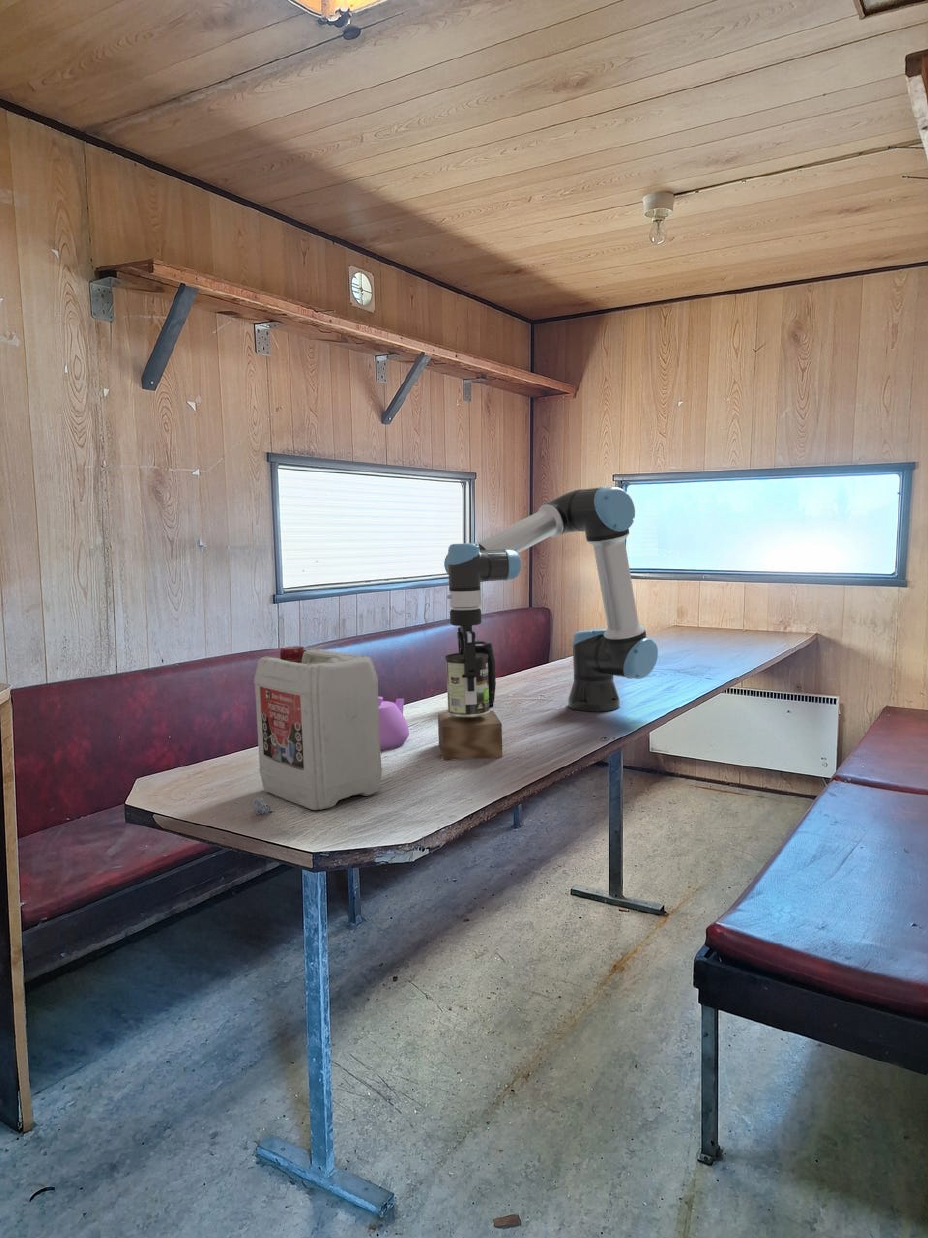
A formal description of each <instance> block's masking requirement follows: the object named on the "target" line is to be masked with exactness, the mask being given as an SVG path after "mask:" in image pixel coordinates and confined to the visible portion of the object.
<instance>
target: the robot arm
mask: <svg viewBox="0 0 928 1238" xmlns="http://www.w3.org/2000/svg"><path fill="white" fill-rule="evenodd" d="M635 518H636V507H635V504H634V502H633V499H632V497H631V496H630V494H629V493H628V492H627V491H625V490H624V489H623V488H620V487H617V486H614V487H611V486H602V487H594V488H593V487H591V488H583V489H575V490H572V491H569V492H566V493H564V494H562V495H561V496H558V497H556V498H554V499H552V500H550V501H548V502H546V503H544V504H542V505H541V506H540V507H539V508H538V510H537V512H535V513H533V514H531V515H529V516H526V517H525V518H523V519H521V520H519V521H517V522H515V523H513V524H512V525H511V524H510V526H507V527H505V528H503V529H501V530H499V531H497V532H496V533H494V534H491V535H490V536H487V537H485V538H484V539H482V540H480V541H478V542H476V543H475V542H473V543H472V542H467V543H465V542H464V543H452V544H450V545H449V546H448V551H447V554H446V556H445V557H444V563H443V566H444V571H445V572H446V574H447V575H448V590H449V592H448V593H449V594H447V595H446V599H448V600H449V607H450V608H451V609H450V610H449V623H450V625H452V626H455V627H458V628H457V634H456V635H457V645H458V653H460V654H463V657H464V659H465V660H464V669H465V674H462V678H464V687H465V705H473V704H477V694H476V676H477V669H476V653H475V641H476V633H475V632H474V631H473V626H478V625H480V624H481V623H482V609H481V608H480V607H481V606H482V590H481V586H482V585H481V584H482V583H484V582H497V581H498V582H500V581H505V582H506V581H508V580H513V579H516V578H517V577H518V576H519V575H520V573H521V571H522V560H521V557H520V555H519V553H521V552H523V551H525V550H527V549H529V548H531V547H532V546H534V545H536V544H539V543H540V542H542V541H544V540H545V539H547V538H549V537H550V538H557V537H559V536H561V535H563V534H566V533H574V532H576V533H577V532H585V539H586V542H587V543H589V544H590V545H591V546H592V547H593V551H594V556H595V557H594V558H595V563H596V567H597V568H596V570H597V575H598V581H599V586H600V590H601V597H602V602H603V609H604V614H605V619H606V625H607V628H596V629H595V628H594V629H586V630H580V631H576V632H575V633H574V635H573V643H572V655H573V656H572V658H573V660H572V661H573V682H572V686H571V690H570V692H569V694H568V695H569V696H568V698H567V699H568V700H567V702H568V707H569V708H570V709H572V710H575V711H582V712H583V711H584V712H605V711H613V710H616V709H619V708H620V705H621V703H620V696H619V693H618V691H617V687H616V684H615V682H614V681H615V680H614V676H616V677H620V678H621V677H622V678H625V679H626V678H627V679H629V680H630V679H631V680H633V679H636V680H639V679H640V680H642V679H644V678H646V677H647V676H650V674H652V671H653V670H654V669H655V666H656V664H657V661H658V657H659V653H658V652H659V650H658V646H657V643H656V642H655V641H654V639H652V638H650V637H647V633H646V632H647V631H646V628H645V626H644V625H643V624H641V623H639V618H638V611H637V606H636V601H635V594H634V589H633V582H632V576H631V570H630V564H629V563H630V562H629V557H628V551H627V545H626V540H627V538H628V536H629V535H630V530H629V529H630V528H631V527H632V525H633V523H634V521H635V520H634V519H635ZM471 670H472V671H471Z"/></svg>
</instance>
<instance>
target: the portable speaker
mask: <svg viewBox="0 0 928 1238" xmlns="http://www.w3.org/2000/svg"><path fill="white" fill-rule="evenodd" d="M475 653H485V654H488V685H489V706H491V707H494V703H495V696H496V685H497V684H496V683H497V681H496V680H497V679H496V660H495V653H494V650H493V643H492V642H486V641H484V640H475Z"/></svg>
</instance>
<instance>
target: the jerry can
mask: <svg viewBox="0 0 928 1238" xmlns="http://www.w3.org/2000/svg"><path fill="white" fill-rule="evenodd" d="M279 657H280V658H277V657H271V656H267V655H264V656H262V657H261V658H260V659H258V661H257V666H256V670H255V675H254V680H253V683H254V692H255V708H256V724H257V742H258V744H257V745H258V746H257V747H258V758H259V759H258V760H259V763H258V764H259V768H258V770H259V774H260V775H259V776H260V779H261V783H262V786H263V788H262V789H263V790H264V792H266V793H268V794H271V795H272V796H273V795H274V796H276V797H278V796H279V798H281V797H282V798H281V799H284V800H286V801H288V802H291V803H294V804H296V805H299V806H301V807H304V808H306V809H309V810H312V811H313V810H314V811H319V810H321V811H322V810H324V809H326V810H327V809H330V808H333V807H334V806H336V805H337V803H338V802H339V801H340V800H343V799H346V798H349V797H351V796H356V795H359V796H363V797H364V796H365V797H367V796H368V797H369V796H372V795H374V794H376V793H378V792H379V791H380V788H381V782H382V781H381V779H382V773H383V767H382V756H381V750H380V730H379V704H378V696H379V678H378V675H377V671H376V668H375V665H374V662H373V659H372V657H370V656H367V655H364V654H362V655H359V654H353V653H346V652H339V651H333V650H328V649H327V650H326V649H322V648H320V647H319V648H318V647H317V648H315V649H314V648H313V649H310V650H309V649H308V650H305V648H304V646H300V645H299V646H294V645H293V646H287V647H281V648H280V651H279Z"/></svg>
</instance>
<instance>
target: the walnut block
mask: <svg viewBox="0 0 928 1238" xmlns="http://www.w3.org/2000/svg"><path fill="white" fill-rule="evenodd" d="M502 725H503V724H502V722H501V720H500V719H499V717H498V715H497V714H496V713H495V711H494V710H490V712H489V713H488V714H486V715H483V716H478V717H455V716H451V715H449V714H448V712H441V713H437V728H438V746H440V747H439V749H440V753H442V754H441V757H442V760H443V761H449V760H448V759H457V760H470V758H474V759H488V758H489V759H491V758H501V757H504V756H503V729H502V728H503V727H502Z"/></svg>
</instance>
